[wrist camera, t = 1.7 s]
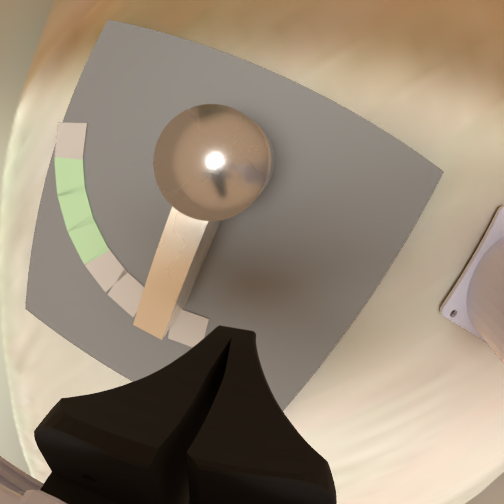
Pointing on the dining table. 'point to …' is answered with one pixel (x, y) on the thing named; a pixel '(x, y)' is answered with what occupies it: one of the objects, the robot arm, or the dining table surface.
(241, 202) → the tuning dial
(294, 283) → the tuner board
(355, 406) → the dining table surface
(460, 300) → the robot arm
